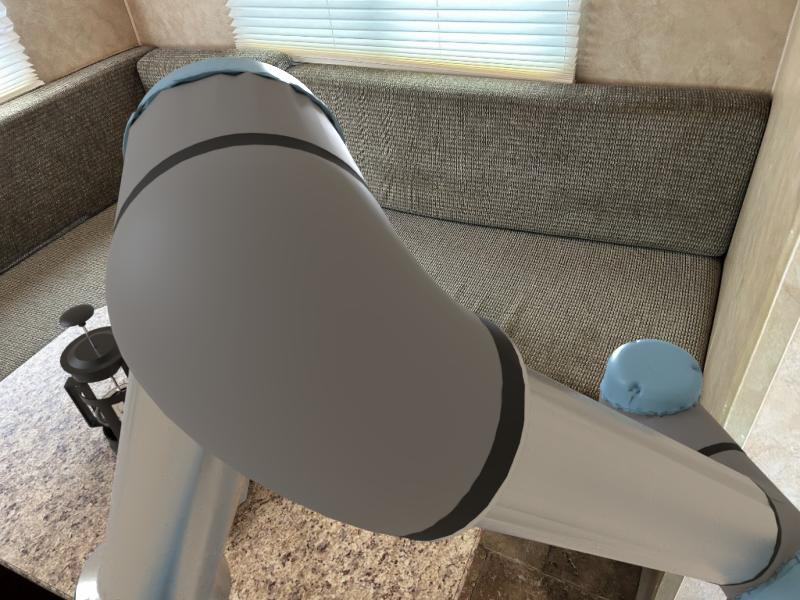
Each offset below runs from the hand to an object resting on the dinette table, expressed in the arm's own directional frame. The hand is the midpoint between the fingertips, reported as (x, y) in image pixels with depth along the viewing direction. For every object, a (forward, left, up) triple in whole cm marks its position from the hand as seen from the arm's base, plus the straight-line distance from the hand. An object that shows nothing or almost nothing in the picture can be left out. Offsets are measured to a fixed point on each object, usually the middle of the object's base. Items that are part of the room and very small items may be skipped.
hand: (354, 387), depth 71 cm
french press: (-17, +31, -15) cm, 38 cm away
